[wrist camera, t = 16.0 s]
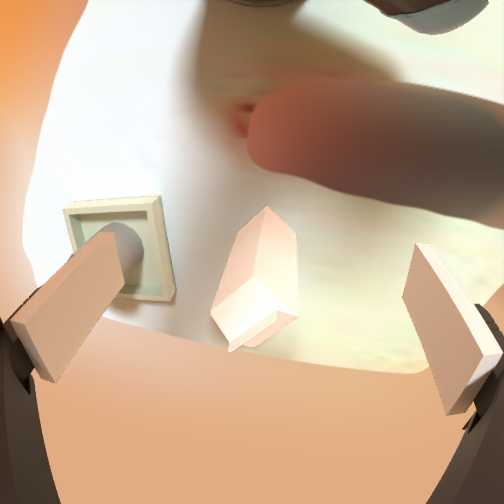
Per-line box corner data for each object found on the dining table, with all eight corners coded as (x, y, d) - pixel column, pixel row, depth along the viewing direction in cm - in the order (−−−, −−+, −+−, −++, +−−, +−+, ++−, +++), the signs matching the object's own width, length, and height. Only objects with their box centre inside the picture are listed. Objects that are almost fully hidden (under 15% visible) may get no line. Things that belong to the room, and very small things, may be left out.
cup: (113, 273, 52) (84, 308, 43) (90, 231, 48) (56, 260, 40) (152, 262, 50) (126, 298, 41) (129, 215, 46) (97, 244, 38)
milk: (237, 231, 47) (199, 334, 27) (267, 204, 44) (247, 296, 25) (267, 259, 48) (250, 371, 29) (297, 233, 46) (300, 340, 26)
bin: (74, 201, 47) (62, 209, 44) (160, 195, 45) (151, 203, 42) (96, 285, 54) (87, 295, 51) (176, 289, 53) (170, 301, 49)
